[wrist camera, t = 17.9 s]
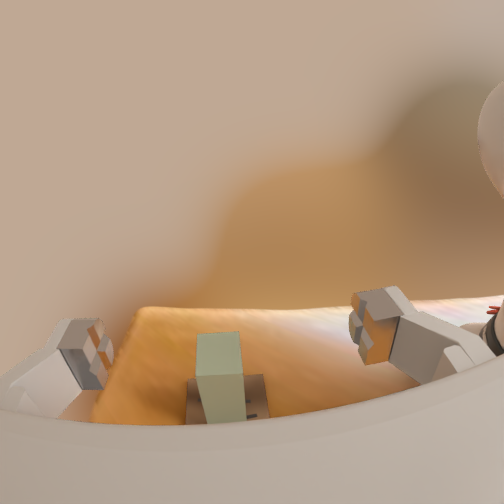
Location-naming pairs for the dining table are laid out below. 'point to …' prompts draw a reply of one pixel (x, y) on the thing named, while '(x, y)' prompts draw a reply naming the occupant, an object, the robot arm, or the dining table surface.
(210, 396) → the green block
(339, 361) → the dining table surface
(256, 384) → the board
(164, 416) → the dining table surface
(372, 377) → the dining table surface
